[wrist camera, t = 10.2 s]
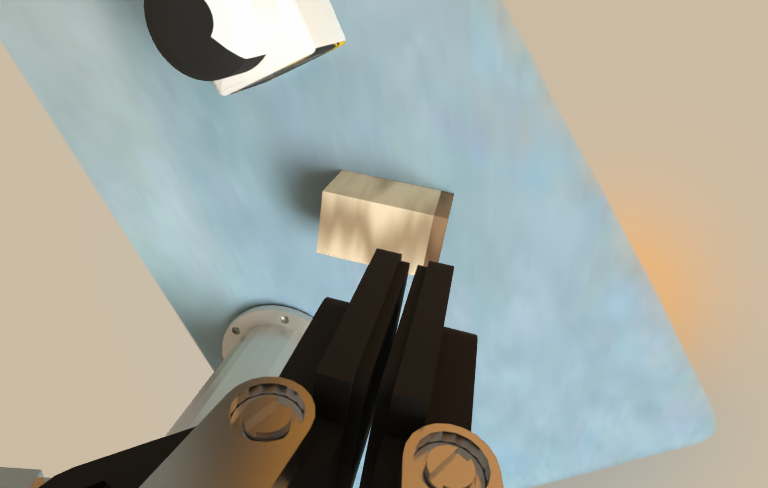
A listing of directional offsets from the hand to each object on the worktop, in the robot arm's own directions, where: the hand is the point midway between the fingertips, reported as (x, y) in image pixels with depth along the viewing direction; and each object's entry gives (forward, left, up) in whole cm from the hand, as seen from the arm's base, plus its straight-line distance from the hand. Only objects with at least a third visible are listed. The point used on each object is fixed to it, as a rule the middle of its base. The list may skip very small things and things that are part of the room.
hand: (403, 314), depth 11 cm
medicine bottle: (+3, +14, -28) cm, 31 cm away
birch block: (-10, 0, -25) cm, 27 cm away
